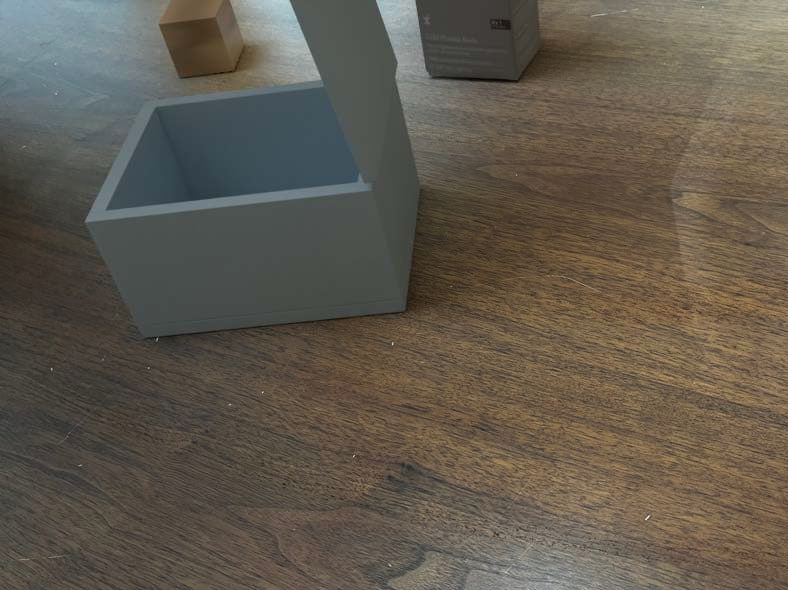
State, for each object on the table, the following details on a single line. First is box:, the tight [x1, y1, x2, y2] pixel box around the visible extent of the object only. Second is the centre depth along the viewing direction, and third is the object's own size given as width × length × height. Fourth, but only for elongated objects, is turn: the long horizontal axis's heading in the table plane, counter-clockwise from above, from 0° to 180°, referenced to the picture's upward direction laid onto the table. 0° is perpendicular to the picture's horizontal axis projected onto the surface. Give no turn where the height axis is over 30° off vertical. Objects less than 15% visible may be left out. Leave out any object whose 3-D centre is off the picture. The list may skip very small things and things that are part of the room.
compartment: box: [84, 78, 422, 339], centre depth 70 cm, size 17×14×9 cm
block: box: [158, 0, 245, 79], centre depth 95 cm, size 5×5×5 cm
